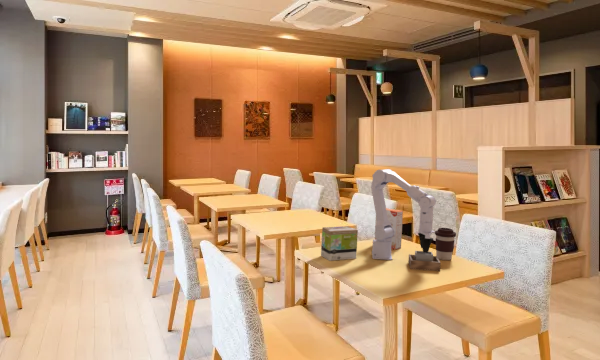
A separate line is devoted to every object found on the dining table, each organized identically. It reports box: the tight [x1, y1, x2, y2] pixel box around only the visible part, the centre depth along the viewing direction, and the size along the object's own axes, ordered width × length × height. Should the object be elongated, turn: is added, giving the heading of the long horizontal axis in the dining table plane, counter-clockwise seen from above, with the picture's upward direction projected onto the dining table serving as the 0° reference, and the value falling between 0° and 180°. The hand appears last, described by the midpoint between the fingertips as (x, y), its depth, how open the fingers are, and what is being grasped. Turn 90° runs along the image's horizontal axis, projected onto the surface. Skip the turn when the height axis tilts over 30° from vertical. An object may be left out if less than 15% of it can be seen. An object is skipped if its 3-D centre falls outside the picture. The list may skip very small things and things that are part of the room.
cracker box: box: [374, 207, 404, 250], centre depth 228 cm, size 14×6×21 cm, turn 43°
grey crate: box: [414, 250, 434, 262], centre depth 193 cm, size 8×5×6 cm, turn 81°
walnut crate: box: [408, 253, 441, 272], centre depth 193 cm, size 13×10×4 cm
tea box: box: [320, 225, 359, 262], centre depth 205 cm, size 15×10×15 cm
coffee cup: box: [434, 227, 457, 261], centre depth 207 cm, size 10×10×15 cm
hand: (424, 250), depth 192 cm, fingers open, 7 cm apart
